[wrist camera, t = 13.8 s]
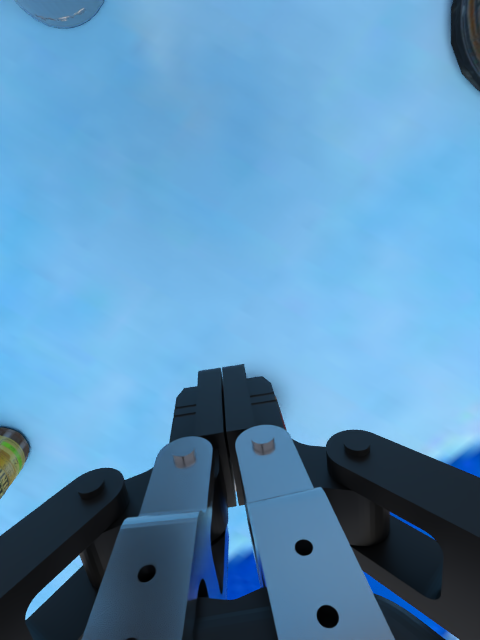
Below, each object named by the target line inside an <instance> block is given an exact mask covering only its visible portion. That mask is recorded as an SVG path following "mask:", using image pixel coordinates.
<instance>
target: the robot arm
mask: <svg viewBox="0 0 480 640" xmlns="http://www.w3.org/2000/svg"><path fill="white" fill-rule="evenodd" d="M14 1H15V2H16V3H17V4H18V5H19V6H20V7H21V8H22V9H23V10H24V11H25V12H27V13H28V14H29V15H31V16H32V17H33V18H35V19H36V20H38V21H40V22H42V23H44V24H46V25H48V26H53V27H57V28H71V27H75V26H79V25H81V24H83V23H85V22H86V21H88V20H90V19H91V18H92V17H93V16H94V15H95V14H96V13H97V12H98V10H99V8H100V7H101V5H102V4H103V1H104V0H14ZM222 372H223V378H222ZM222 372H221V368H216V369H209V370H202V371H199V372H198V385H197V386H196V387H189V388H184V389H183V390H182V392H181V393H180V394H179V395H178V397H177V398H176V404H175V410H174V418H173V423H172V429H171V435H170V441H169V444H167V445H166V446H165V447H163V448H162V449H161V450H160V452H159V453H158V455H157V458H156V461H155V464H154V467H153V468H152V469H150V470H148V471H146V472H144V473H142V474H139V475H137V476H134V477H132V478H129V479H127V480H124V478H123V475H122V474H121V472H120V471H118V470H116V469H113V468H100V469H95V470H92V471H89V472H87V473H85V474H83V475H81V476H79V477H78V478H76V479H75V480H74V481H72V482H71V483H70V484H68V485H67V486H66V487H64V488H63V489H62V490H60V491H59V492H58V493H56V494H55V495H54V496H52V497H51V498H50V499H48V500H47V501H46V502H44V503H43V504H42V505H41V506H39V507H38V508H37V509H35V510H34V511H33V512H31V513H30V514H29V515H27V516H26V517H25V518H23V519H22V520H21V521H19V522H18V523H17V524H15V525H14V526H13V527H11V528H10V529H9V530H8V531H6V532H5V533H4V534H2V535H1V536H0V640H445V639H444V638H443V637H441V636H440V635H439V634H437V633H436V632H435V631H434V630H432V629H431V628H430V627H428V626H427V625H426V624H424V623H423V622H422V621H421V620H419V619H418V618H417V617H415V616H414V615H413V614H411V613H410V612H408V611H407V610H405V609H404V608H402V607H401V606H399V605H397V604H396V603H394V602H392V601H390V600H388V599H386V598H384V597H382V596H379V595H376V594H374V593H373V592H372V590H371V588H370V586H369V584H368V582H367V580H366V578H365V576H364V574H363V571H364V572H366V573H367V574H368V575H370V576H371V577H373V578H374V579H375V580H377V581H378V582H380V583H381V584H382V585H384V586H385V587H387V588H388V589H389V590H391V591H392V592H394V593H395V594H396V595H398V596H399V597H401V598H402V599H403V600H405V601H406V602H408V603H409V604H410V605H412V606H413V607H415V608H416V609H417V610H419V611H420V612H422V613H423V614H424V615H426V616H427V617H429V618H430V619H432V620H433V621H434V622H436V623H437V624H439V625H440V626H441V627H443V628H444V629H446V630H447V631H448V632H450V633H451V634H453V635H454V636H455V637H457V638H458V639H460V640H480V478H479V477H477V476H474V475H472V474H470V473H467V472H465V471H462V470H460V469H458V468H455V467H453V466H450V465H448V464H446V463H443V462H441V461H438V460H436V459H434V458H431V457H429V456H426V455H424V454H422V453H419V452H417V451H414V450H412V449H409V448H407V447H405V446H402V445H400V444H397V443H395V442H393V441H390V440H388V439H385V438H383V437H381V436H378V435H376V434H373V433H371V432H368V431H363V430H346V431H342V432H339V433H337V434H335V435H333V436H332V437H331V438H330V439H329V440H328V442H327V444H326V447H320V446H309V445H305V444H301V443H299V442H297V441H295V440H293V439H292V438H291V436H290V434H289V433H288V432H287V431H286V430H285V428H284V425H283V422H282V418H281V415H280V412H279V408H278V405H277V402H276V398H275V395H274V392H273V389H272V385H271V383H270V382H269V381H268V380H266V379H265V378H264V377H262V376H260V377H254V378H246V373H245V368H244V364H241V365H235V366H228V367H222ZM234 479H235V481H234ZM235 485H236V491H237V497H238V503H239V505H245V508H246V514H247V520H248V526H249V532H250V537H251V542H252V547H253V552H254V557H255V562H256V567H257V572H258V577H259V582H260V587H261V588H260V589H258V590H256V591H254V592H251V593H249V594H247V595H245V596H242V597H240V598H238V599H234V600H227V573H228V545H229V532H228V527H227V524H228V507H234V506H236V494H235ZM390 512H392V513H394V514H395V515H397V516H399V517H401V518H403V519H404V520H406V521H408V522H410V523H412V524H413V525H415V526H417V527H419V528H421V529H422V530H424V531H426V532H427V533H429V534H430V535H431V536H432V537H433V538H434V539H435V540H434V539H432V538H430V537H429V536H427V535H425V534H423V533H421V532H420V531H418V530H416V529H414V528H413V527H411V526H409V525H407V524H405V523H404V522H402V521H400V520H398V519H397V518H395V517H393V516H391V515H390ZM78 555H80V558H81V560H82V563H83V566H82V567H81V568H80V569H79V570H78V571H77V572H76V573H75V574H73V575H72V576H71V577H70V578H69V579H68V580H67V581H66V582H65V583H64V584H63V585H62V586H61V587H60V588H59V589H58V590H57V591H56V592H55V593H54V594H53V595H52V596H51V597H50V598H49V599H48V600H47V601H46V602H45V603H43V604H42V605H41V606H40V607H39V608H38V609H37V610H36V611H35V612H34V613H33V614H32V615H31V616H30V617H29V618H28V619H27V620H25V615H26V611H27V609H28V606H29V605H30V603H31V601H32V600H33V598H34V597H35V596H36V595H37V594H38V593H39V592H40V591H41V590H42V589H43V588H44V587H45V586H46V585H47V584H48V583H49V582H51V581H52V580H53V579H54V578H55V577H56V576H57V575H58V574H59V573H60V572H61V571H62V570H63V569H64V568H66V567H67V566H68V565H69V564H70V563H71V562H72V561H73V560H74V559H75V558H76V557H77V556H78ZM362 570H363V571H362Z"/></svg>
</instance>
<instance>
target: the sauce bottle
mask: <svg viewBox="0 0 480 640" xmlns="http://www.w3.org/2000/svg"><path fill="white" fill-rule="evenodd" d="M28 453H29V445H28V443H27V441H26V440H25V438H24V437H23V436H22V434H20V433H19V432H17V431H14V430H12V429H8V428H3V427H1V428H0V499H1V497H2V496H3V495H4V494H5V492H6V490H7V489H8V487H9V486H10V485H11V483H12V482H13V481H14V479H15V478H16V476H17V475H18V474H19V472H20V471H21V469H22V468H23V466H24V463H25V462H26V460H27V457H28Z"/></svg>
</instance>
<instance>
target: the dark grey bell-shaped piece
mask: <svg viewBox="0 0 480 640" xmlns="http://www.w3.org/2000/svg"><path fill="white" fill-rule="evenodd" d="M451 45H452V47H453V50H454V53H455V56H456V58H457V61H458V64H459V67H460V69H461V72H462V74H463V75H464V76H465V77H466V78H467V79H468V80H469V82H470V83H471V84H472V85H473V86H474V87H475V88H476V89H477V90H479V91H480V0H454V1H453V4H452V8H451Z"/></svg>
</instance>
